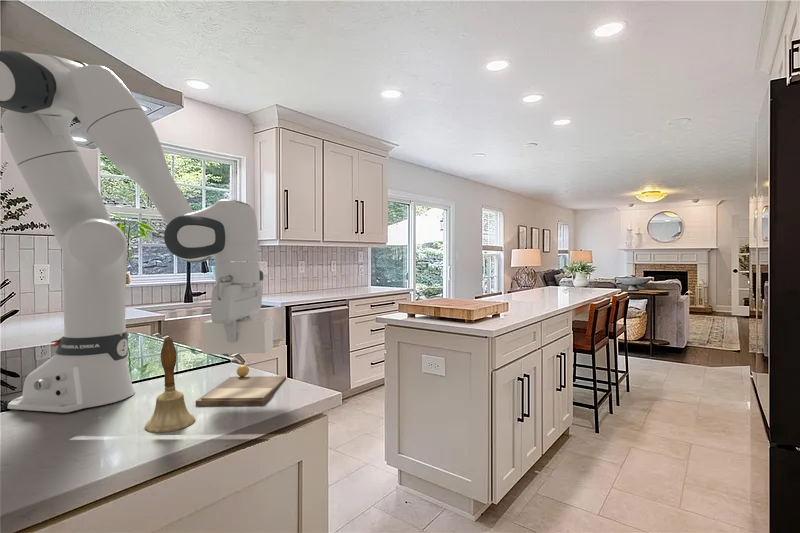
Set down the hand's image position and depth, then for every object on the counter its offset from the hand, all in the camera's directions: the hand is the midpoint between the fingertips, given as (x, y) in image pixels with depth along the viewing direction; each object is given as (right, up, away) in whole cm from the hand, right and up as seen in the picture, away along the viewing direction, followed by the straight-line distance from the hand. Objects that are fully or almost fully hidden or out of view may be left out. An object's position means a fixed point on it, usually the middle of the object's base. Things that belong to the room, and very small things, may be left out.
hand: (239, 338), depth 94 cm
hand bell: (-8, -14, -14) cm, 21 cm away
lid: (0, -3, 0) cm, 3 cm away
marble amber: (-5, -9, +15) cm, 18 cm away
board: (-1, -13, +6) cm, 14 cm away
